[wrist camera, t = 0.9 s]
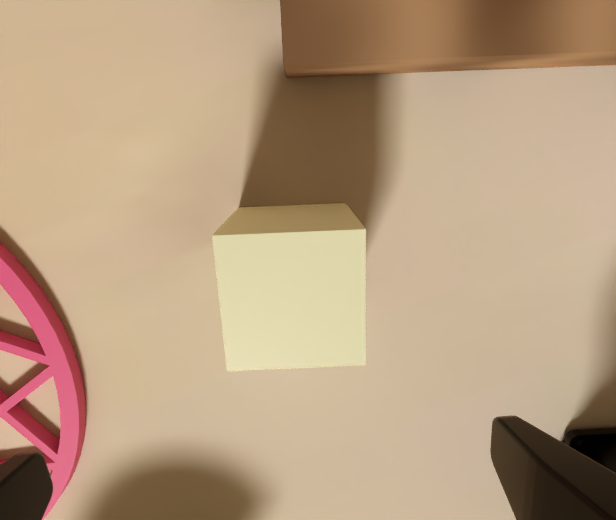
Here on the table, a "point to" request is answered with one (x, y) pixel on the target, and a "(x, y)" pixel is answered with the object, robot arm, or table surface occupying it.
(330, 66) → the walnut base
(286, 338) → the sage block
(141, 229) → the table surface
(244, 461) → the table surface
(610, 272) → the table surface
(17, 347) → the trivet
